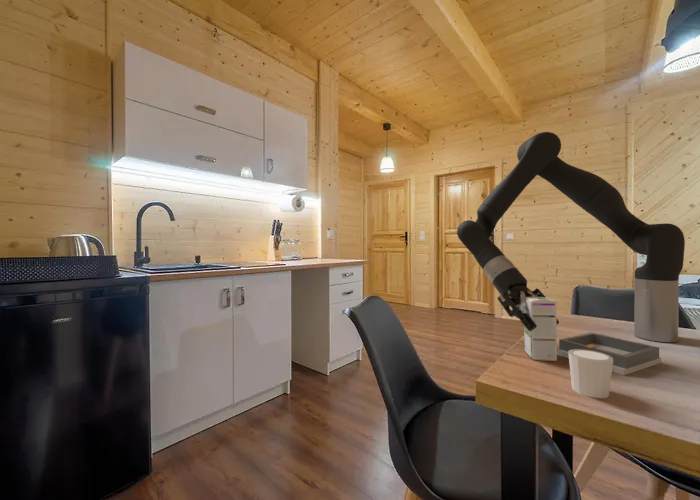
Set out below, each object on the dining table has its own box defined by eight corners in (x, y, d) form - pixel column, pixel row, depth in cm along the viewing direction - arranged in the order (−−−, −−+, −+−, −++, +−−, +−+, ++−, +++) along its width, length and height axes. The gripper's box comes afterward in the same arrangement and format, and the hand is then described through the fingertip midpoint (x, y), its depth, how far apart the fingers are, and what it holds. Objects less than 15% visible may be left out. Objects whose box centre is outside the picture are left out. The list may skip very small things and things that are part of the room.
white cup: (559, 383, 63) (559, 348, 63) (594, 383, 63) (594, 348, 63) (584, 399, 57) (584, 361, 56) (623, 400, 56) (623, 361, 56)
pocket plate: (593, 345, 86) (593, 330, 86) (661, 362, 73) (661, 345, 73) (556, 354, 79) (556, 338, 79) (623, 375, 67) (623, 356, 67)
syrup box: (558, 361, 75) (558, 300, 74) (530, 360, 76) (530, 300, 76) (548, 353, 80) (548, 296, 80) (522, 351, 82) (522, 296, 81)
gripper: (493, 267, 82) (535, 321, 71) (530, 265, 88) (574, 315, 77) (477, 285, 87) (515, 338, 76) (513, 282, 92) (552, 331, 82)
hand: (544, 326), depth 77 cm, fingers closed on syrup box, 8 cm apart
